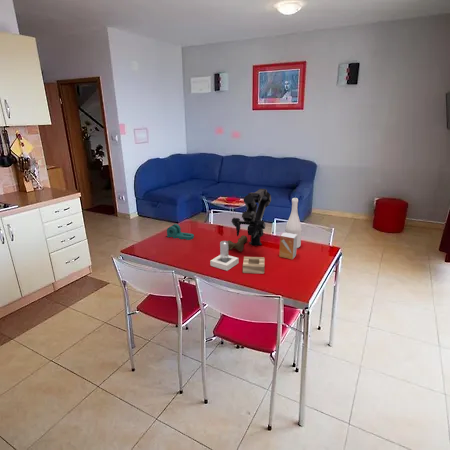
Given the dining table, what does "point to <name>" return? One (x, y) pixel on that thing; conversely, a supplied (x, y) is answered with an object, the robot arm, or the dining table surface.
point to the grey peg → (224, 251)
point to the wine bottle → (294, 222)
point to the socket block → (253, 265)
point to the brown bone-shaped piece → (238, 243)
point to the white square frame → (225, 266)
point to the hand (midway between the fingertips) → (245, 237)
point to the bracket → (178, 233)
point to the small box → (288, 245)
